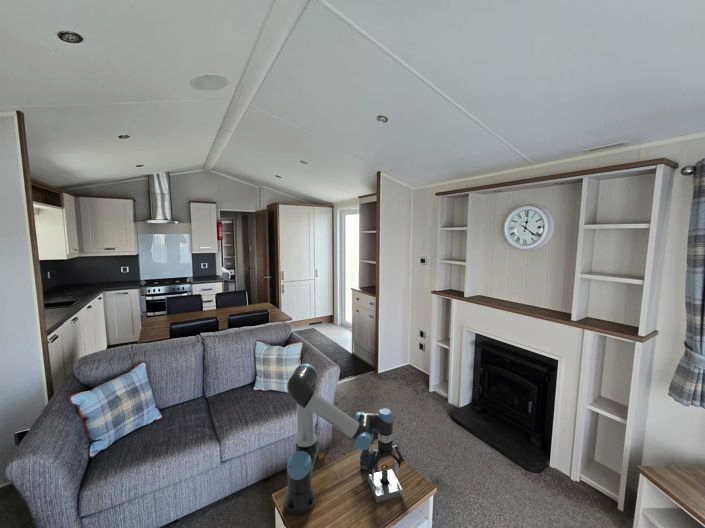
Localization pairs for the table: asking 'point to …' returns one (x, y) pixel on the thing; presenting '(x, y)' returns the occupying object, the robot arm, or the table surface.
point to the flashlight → (384, 474)
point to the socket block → (385, 486)
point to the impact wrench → (368, 452)
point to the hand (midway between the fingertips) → (384, 476)
